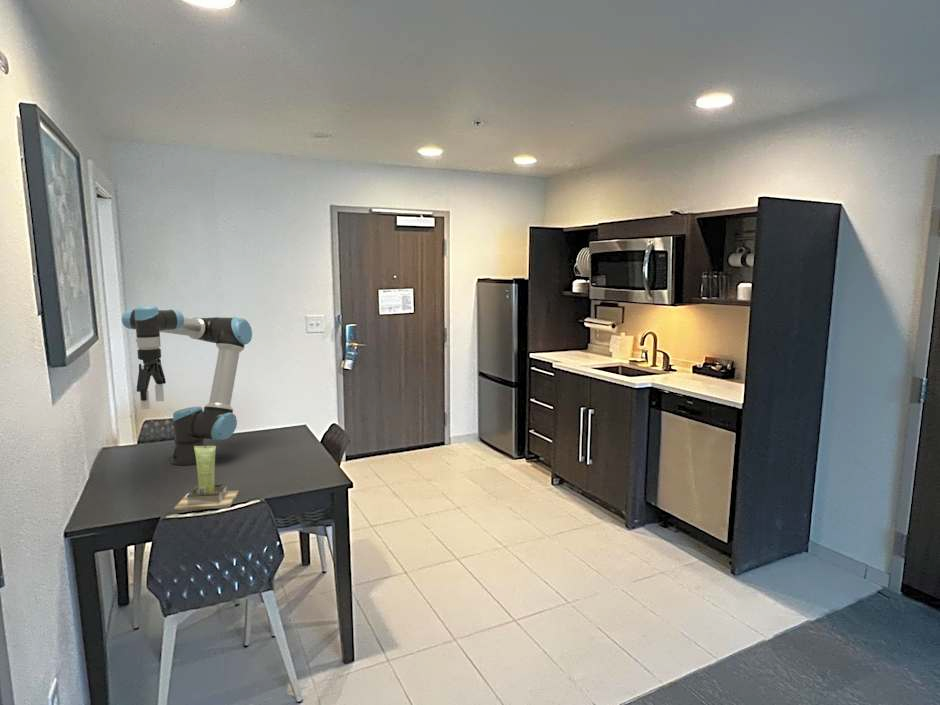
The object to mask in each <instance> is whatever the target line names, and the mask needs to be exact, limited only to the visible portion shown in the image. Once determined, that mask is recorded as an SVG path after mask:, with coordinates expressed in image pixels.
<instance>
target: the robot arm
mask: <svg viewBox="0 0 940 705" xmlns="http://www.w3.org/2000/svg"><path fill="white" fill-rule="evenodd" d="M121 323H122V324H123V327H124V328H126V329H129V330H131V329H132V330H135V332H136V333H135V334H136V339H135V342H136V347H137V348H138V349H137V358H138V360H140V361H142V363H139V364H138V376H137V383H136V392H137V393H138V392H139V397H140V409H141V410H150V409H151V404H150V392H149V391H150V390H148V389H149V385H150V382H151V381H150V380H151V378H153V381H154V382H155V384H154V387H155V388H154V391H155V392H154V393H155V402H164V401H165V392H164V384H166V377H165V374H164V370H163V366H162V362H161V361H162V360H161V358H162V349H161V348H160V347H162V345H161V334H160V333H164V334H166V333H167V334H173V335H180V336H188V337H189V338H190V339H192V340H198V341H203V342H208V343H214V344H215V346H216V347H217V349H218V352H217V356H216V358H217V359H216V364H215V369H214V373H213V374H214V375H213V379H212V385H211V391H210V396H209V402H208V403H207V404H206V405H204V407H203V408H202V407H201V406H192V407H185V408H182V409H178V410H175V411H174V412H173V416H172V425H173V437H174V447H173V450H172V454H171V456H170V457H171V458H170V460H171V462H170V463H171V464H173V465H176V466H191V465H197V463H196V456H195V450H194V446H207V445H206V443H205V439H206V440H207V439H208V440H215V441H218V440H220V441H221V440H222V441H223V440H227V439H229V438H230V437H231V436H232V435H233V434H234V433H235V431H236V428H237V426H238V425H237V424H238V419H237V416H236V415H235V414H234V409H233V407H232V406H231V404H232V397H233V392H234V386H235V380H236V374H237V369H238V363H239V357H240V354H241V352H243V351H244V350H245V345H248V344H250V342H251V341H252V339H253V330H252V327H251V324H250V323H249V321H248V320H247V319H245V318H242V317H235V316H234V317H219V316H218V317H217V316H216V317H192V318H189V317H184V314H183V313H182V312H181V311H180V310H178V309H159V308H158V306H155V305H151V306H149V305H148V306H147V305H145V306H144V305H142V306H140V305H139V306H136V307H135V308H133V309H128V310H126V311H124V312H123V313H122V316H121Z"/></svg>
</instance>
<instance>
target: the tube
mask: <svg viewBox="0 0 940 705" xmlns="http://www.w3.org/2000/svg"><path fill="white" fill-rule="evenodd" d="M194 450H195V456H196V463H197V464H196V470H197V472H196V473H197V481H198V485H199V494H209V493H215V475H216V474H215V469H216V468H215V467H216V450H217V446H216V445H206V446H194Z"/></svg>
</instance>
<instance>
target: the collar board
mask: <svg viewBox="0 0 940 705" xmlns="http://www.w3.org/2000/svg"><path fill="white" fill-rule="evenodd" d="M214 484H215V483H214ZM239 494H240V490H228V484H227V483H216V484H215V493H209V494H199V484H197V485H195V486H194V488H193V489H191V491H190V492H187V493H186V494H185V496H183V498H181V500H180V501H179V502H178V503H177V504H176V505H175V506H174V508H173V509H174V511H191V510H193V511H194V510H209V509H228V508H230V507H231V506H232V505H233V502H234V501H235V500H236V498H237V497H238V495H239Z"/></svg>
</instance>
